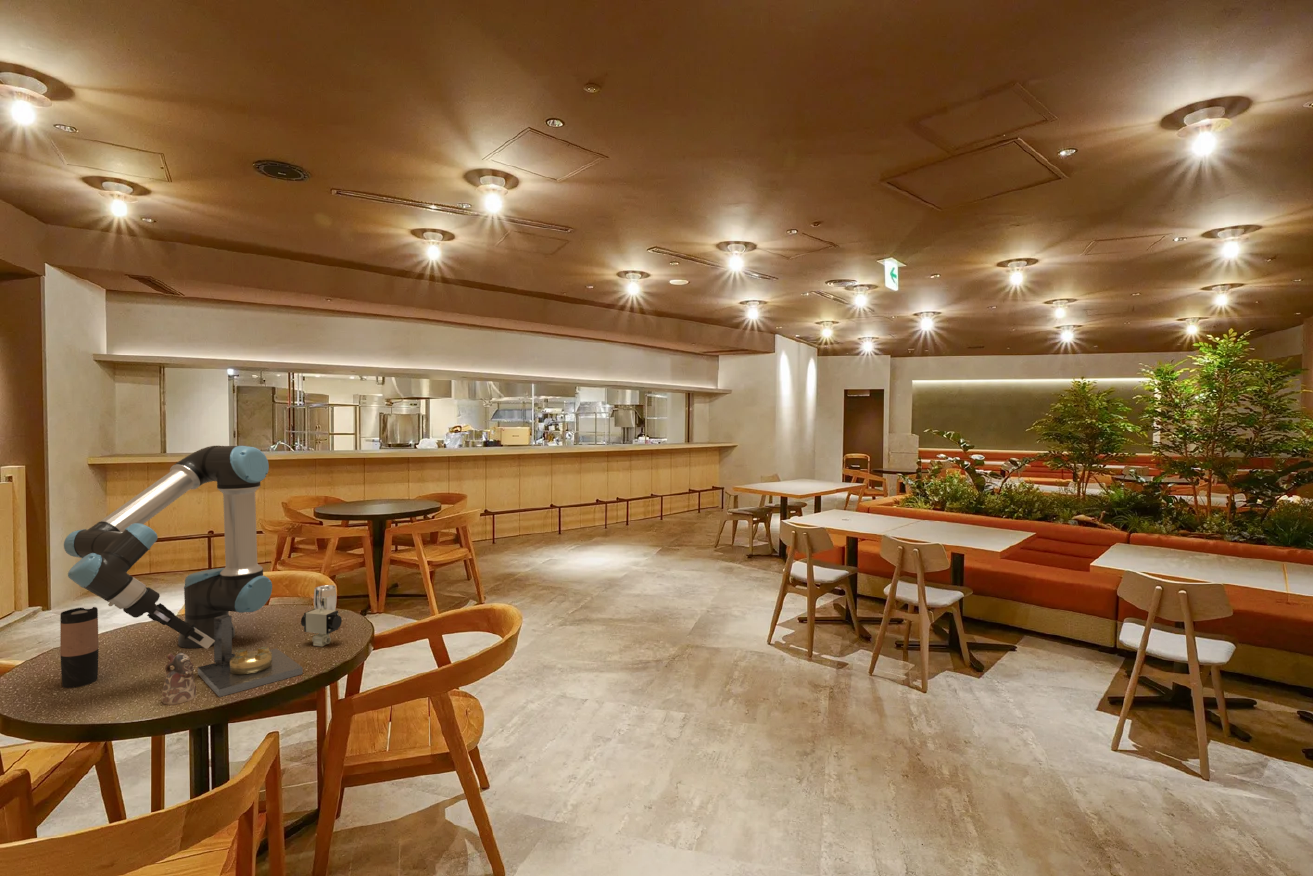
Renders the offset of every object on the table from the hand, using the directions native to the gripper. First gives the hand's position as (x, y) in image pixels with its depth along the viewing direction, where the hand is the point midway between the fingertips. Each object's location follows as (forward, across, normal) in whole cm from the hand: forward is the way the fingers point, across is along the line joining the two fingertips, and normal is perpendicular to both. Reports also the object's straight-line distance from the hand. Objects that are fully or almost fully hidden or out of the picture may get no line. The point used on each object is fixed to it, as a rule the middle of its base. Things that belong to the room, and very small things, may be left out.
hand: (210, 644), depth 174 cm
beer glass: (+32, -15, +20) cm, 40 cm away
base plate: (+11, +9, -1) cm, 14 cm away
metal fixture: (+9, +6, 0) cm, 11 cm away
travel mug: (-12, -19, -24) cm, 33 cm away
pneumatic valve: (+28, -1, +16) cm, 32 cm away
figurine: (0, +13, -13) cm, 19 cm away
